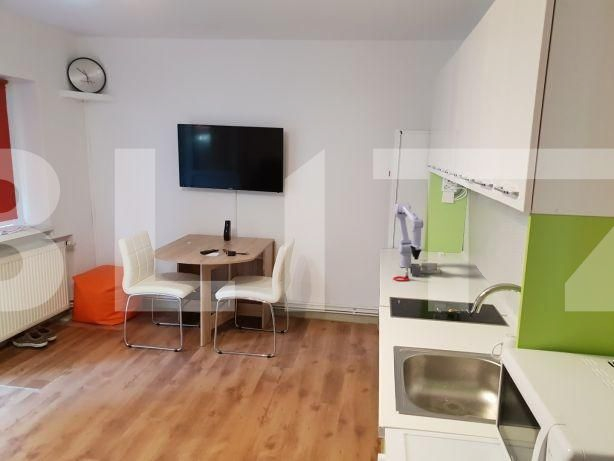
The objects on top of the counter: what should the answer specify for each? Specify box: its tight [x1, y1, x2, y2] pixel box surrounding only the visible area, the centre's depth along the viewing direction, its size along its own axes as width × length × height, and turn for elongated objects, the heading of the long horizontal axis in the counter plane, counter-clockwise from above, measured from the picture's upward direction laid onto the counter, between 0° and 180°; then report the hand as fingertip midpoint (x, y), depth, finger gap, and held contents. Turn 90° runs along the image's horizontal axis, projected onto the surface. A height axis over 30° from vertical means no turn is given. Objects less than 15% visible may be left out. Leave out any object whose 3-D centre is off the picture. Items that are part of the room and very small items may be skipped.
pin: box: [420, 262, 438, 271], centre depth 282 cm, size 4×13×4 cm, turn 137°
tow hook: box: [392, 259, 410, 282], centre depth 267 cm, size 8×13×9 cm
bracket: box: [409, 262, 422, 278], centre depth 278 cm, size 9×5×6 cm, turn 175°
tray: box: [420, 265, 442, 275], centre depth 287 cm, size 10×18×2 cm, turn 85°
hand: (415, 258), depth 283 cm, fingers open, 7 cm apart
